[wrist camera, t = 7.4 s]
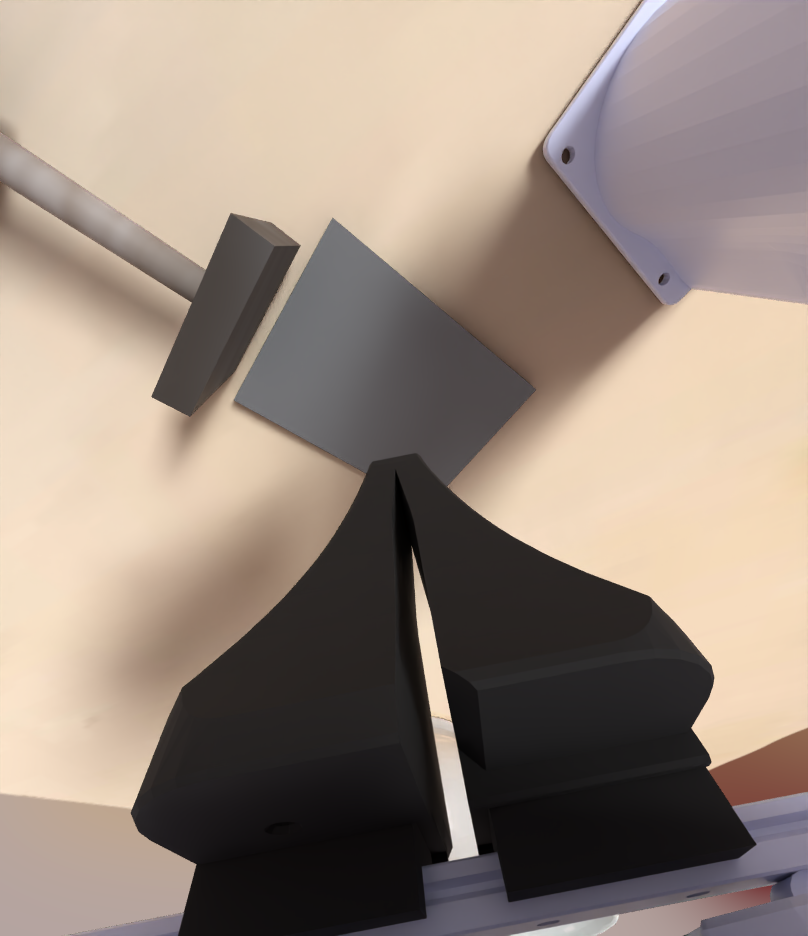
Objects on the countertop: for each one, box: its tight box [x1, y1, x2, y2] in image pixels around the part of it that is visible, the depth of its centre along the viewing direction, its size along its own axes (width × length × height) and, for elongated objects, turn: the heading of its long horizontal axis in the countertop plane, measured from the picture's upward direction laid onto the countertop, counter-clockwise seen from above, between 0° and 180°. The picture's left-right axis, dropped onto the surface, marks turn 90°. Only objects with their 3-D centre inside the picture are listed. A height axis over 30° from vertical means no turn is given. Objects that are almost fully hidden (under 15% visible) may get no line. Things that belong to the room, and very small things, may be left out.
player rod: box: [0, 132, 301, 416], centre depth 10 cm, size 13×6×6 cm, turn 53°
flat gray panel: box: [234, 218, 536, 486], centre depth 18 cm, size 12×9×1 cm
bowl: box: [431, 717, 619, 936], centre depth 34 cm, size 32×32×15 cm
